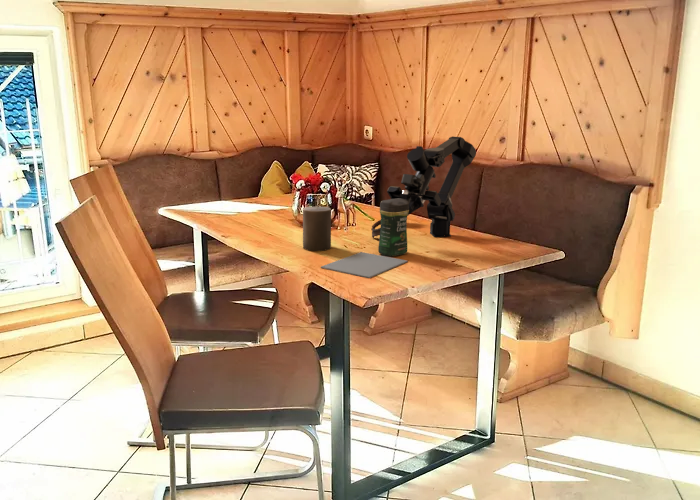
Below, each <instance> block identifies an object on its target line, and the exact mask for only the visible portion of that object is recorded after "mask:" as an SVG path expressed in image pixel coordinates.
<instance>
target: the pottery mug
mask: <svg viewBox="0 0 700 500" xmlns="http://www.w3.org/2000/svg"><path fill="white" fill-rule="evenodd" d="M378 226H381V219H379V220H377V221H375V222H374V223H373V224H372V226H371V228H370V229H371V237H372V238H373V239H375V237H378V236H379V237H380V227H379V228H377V227H378Z"/></svg>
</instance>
